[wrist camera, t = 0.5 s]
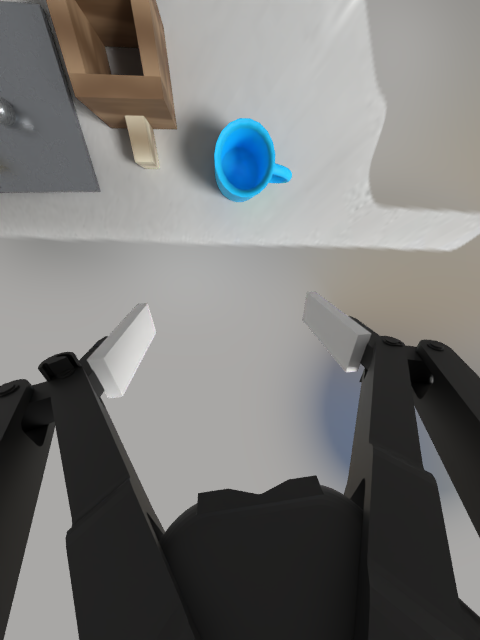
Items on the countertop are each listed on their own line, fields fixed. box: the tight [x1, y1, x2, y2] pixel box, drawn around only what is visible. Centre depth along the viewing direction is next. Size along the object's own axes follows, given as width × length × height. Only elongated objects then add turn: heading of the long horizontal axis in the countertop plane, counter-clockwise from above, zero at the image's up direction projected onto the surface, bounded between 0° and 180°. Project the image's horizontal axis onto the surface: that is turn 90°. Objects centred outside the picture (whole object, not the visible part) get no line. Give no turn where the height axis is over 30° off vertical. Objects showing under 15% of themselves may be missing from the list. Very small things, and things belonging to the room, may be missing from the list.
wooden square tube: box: [46, 0, 177, 169], centre depth 23 cm, size 14×10×8 cm
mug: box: [214, 118, 292, 202], centre depth 29 cm, size 12×8×8 cm
